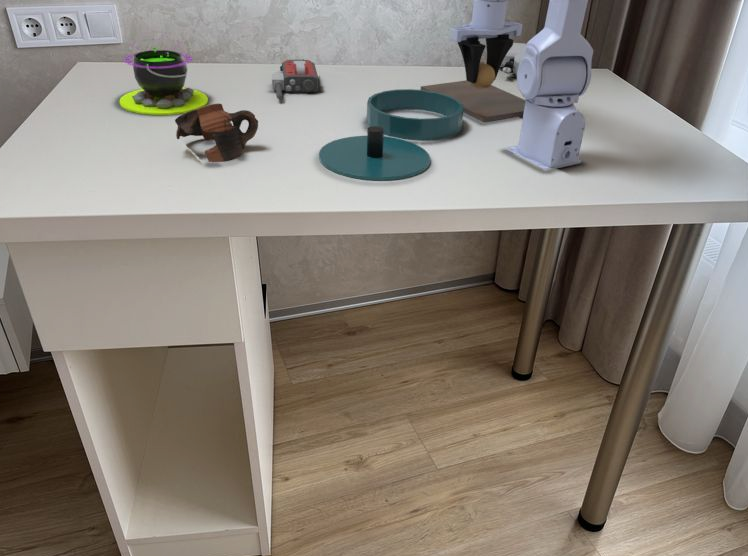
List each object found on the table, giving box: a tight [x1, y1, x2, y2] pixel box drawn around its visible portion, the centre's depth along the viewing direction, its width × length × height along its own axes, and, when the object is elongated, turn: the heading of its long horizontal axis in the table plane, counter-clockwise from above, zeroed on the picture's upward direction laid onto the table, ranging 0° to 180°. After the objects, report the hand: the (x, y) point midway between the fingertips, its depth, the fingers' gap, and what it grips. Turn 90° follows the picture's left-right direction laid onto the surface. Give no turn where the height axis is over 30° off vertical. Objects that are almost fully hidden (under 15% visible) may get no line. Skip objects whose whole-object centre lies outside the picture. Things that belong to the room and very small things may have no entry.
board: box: [420, 79, 526, 123], centre depth 132 cm, size 20×14×1 cm
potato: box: [470, 61, 496, 89], centre depth 126 cm, size 6×4×4 cm
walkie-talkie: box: [271, 58, 320, 101], centre depth 132 cm, size 9×4×20 cm
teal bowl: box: [366, 88, 464, 141], centre depth 118 cm, size 16×16×4 cm
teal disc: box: [318, 126, 431, 181], centre depth 104 cm, size 17×17×5 cm
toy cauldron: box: [119, 31, 209, 116], centre depth 120 cm, size 15×15×11 cm
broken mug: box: [174, 103, 259, 163], centre depth 104 cm, size 12×10×8 cm
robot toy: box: [500, 42, 527, 77], centre depth 150 cm, size 12×4×15 cm
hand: (481, 80), depth 127 cm, fingers closed on potato, 4 cm apart
